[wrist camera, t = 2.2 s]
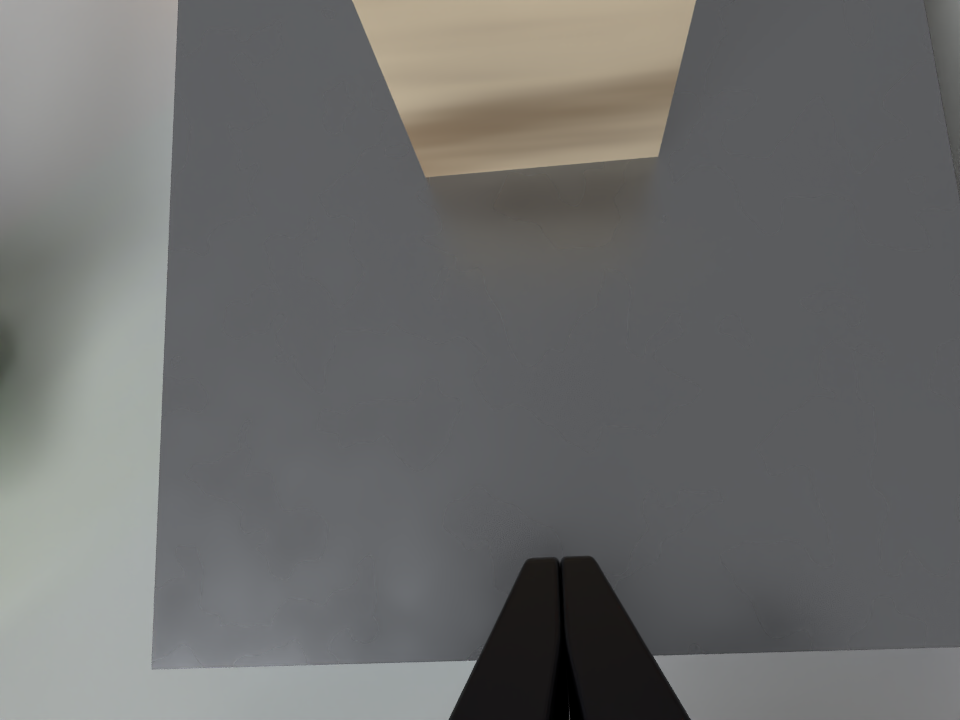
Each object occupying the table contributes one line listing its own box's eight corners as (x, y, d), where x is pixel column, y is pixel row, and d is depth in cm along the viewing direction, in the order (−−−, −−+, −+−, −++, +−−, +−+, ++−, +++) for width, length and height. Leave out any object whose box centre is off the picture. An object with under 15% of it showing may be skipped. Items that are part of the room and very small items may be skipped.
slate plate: (961, 624, 20) (1039, 644, 17) (215, 647, 22) (151, 669, 19) (852, -52, 24) (897, -144, 21) (230, 17, 26) (180, -57, 23)
